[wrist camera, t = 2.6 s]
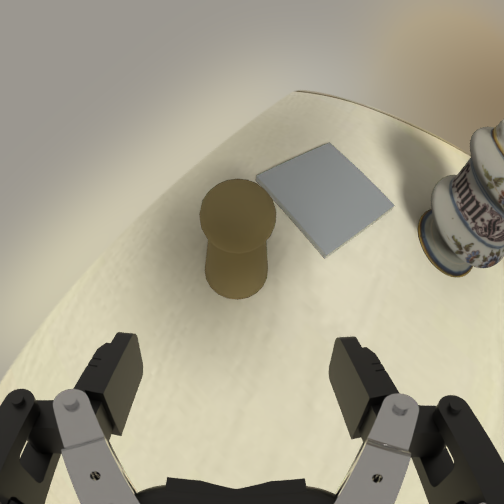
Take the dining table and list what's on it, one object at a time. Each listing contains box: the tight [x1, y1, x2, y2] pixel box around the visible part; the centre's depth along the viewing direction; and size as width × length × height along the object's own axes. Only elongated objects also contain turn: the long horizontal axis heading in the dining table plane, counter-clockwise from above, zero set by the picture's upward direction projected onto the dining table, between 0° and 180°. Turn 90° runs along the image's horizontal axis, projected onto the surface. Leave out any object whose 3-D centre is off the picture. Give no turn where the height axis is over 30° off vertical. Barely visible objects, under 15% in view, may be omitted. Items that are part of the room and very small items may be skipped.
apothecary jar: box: [418, 119, 504, 277], centre depth 23 cm, size 12×12×18 cm
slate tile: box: [256, 143, 395, 259], centre depth 33 cm, size 12×12×1 cm
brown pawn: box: [199, 179, 276, 299], centre depth 23 cm, size 6×6×11 cm
